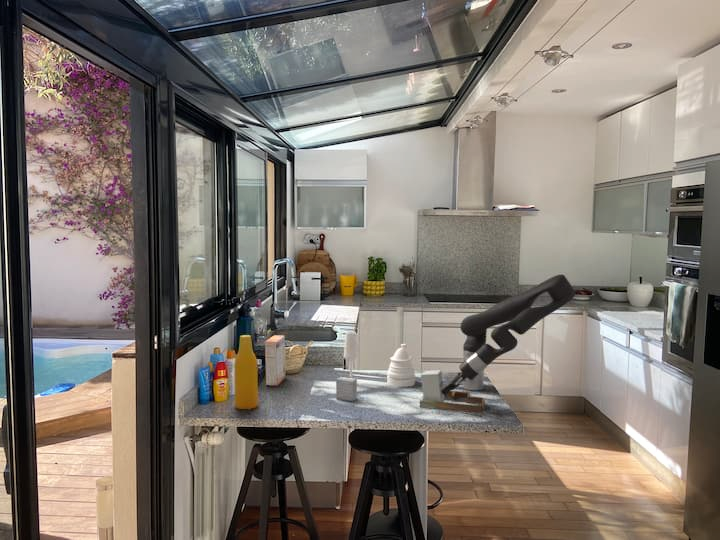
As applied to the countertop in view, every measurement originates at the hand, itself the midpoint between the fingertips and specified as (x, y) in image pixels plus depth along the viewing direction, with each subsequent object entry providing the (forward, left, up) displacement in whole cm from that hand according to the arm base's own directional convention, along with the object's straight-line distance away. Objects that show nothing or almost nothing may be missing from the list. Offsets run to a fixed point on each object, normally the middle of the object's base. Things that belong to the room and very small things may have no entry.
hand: (443, 393), depth 228 cm
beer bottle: (+25, -76, -5) cm, 80 cm away
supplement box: (-1, -3, -5) cm, 6 cm away
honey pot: (-26, -23, -5) cm, 35 cm away
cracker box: (-11, -80, -5) cm, 81 cm away
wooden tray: (-3, +4, -5) cm, 7 cm away
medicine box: (+4, -40, -5) cm, 41 cm away
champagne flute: (-18, -45, -5) cm, 49 cm away
